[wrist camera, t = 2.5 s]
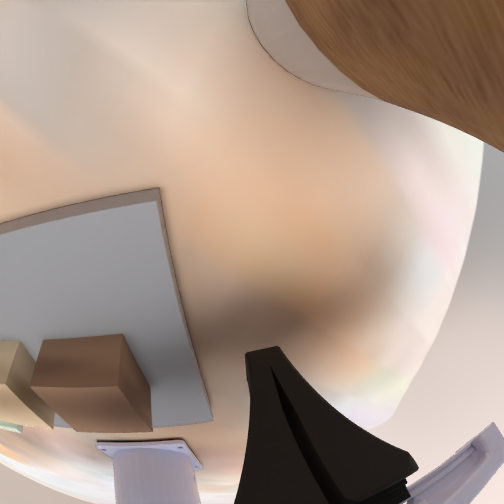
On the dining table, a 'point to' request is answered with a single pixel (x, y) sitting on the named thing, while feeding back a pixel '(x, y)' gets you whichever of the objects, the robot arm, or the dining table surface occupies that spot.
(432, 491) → the robot arm
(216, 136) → the dining table surface
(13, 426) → the tray
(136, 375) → the walnut tile
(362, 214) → the dining table surface
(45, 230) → the slate board
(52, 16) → the dining table surface
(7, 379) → the oak tile
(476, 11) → the coffee cup
